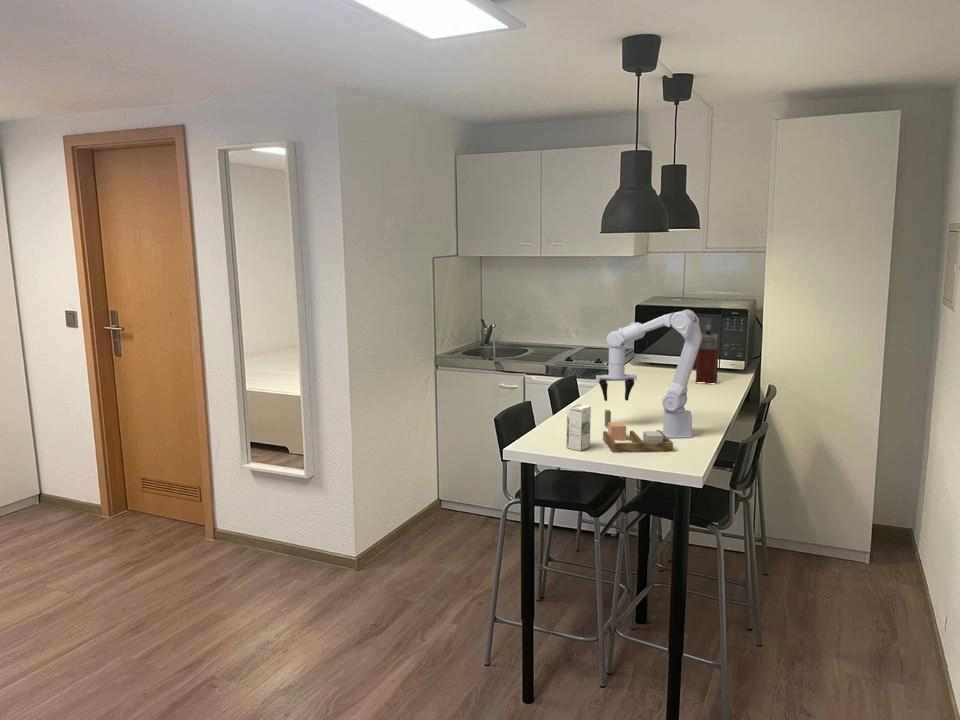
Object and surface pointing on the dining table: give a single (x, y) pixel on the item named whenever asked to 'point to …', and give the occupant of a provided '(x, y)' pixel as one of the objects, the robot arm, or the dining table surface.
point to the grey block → (652, 436)
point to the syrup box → (578, 427)
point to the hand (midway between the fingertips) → (616, 400)
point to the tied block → (615, 427)
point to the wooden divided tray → (638, 444)
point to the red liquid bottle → (707, 357)
